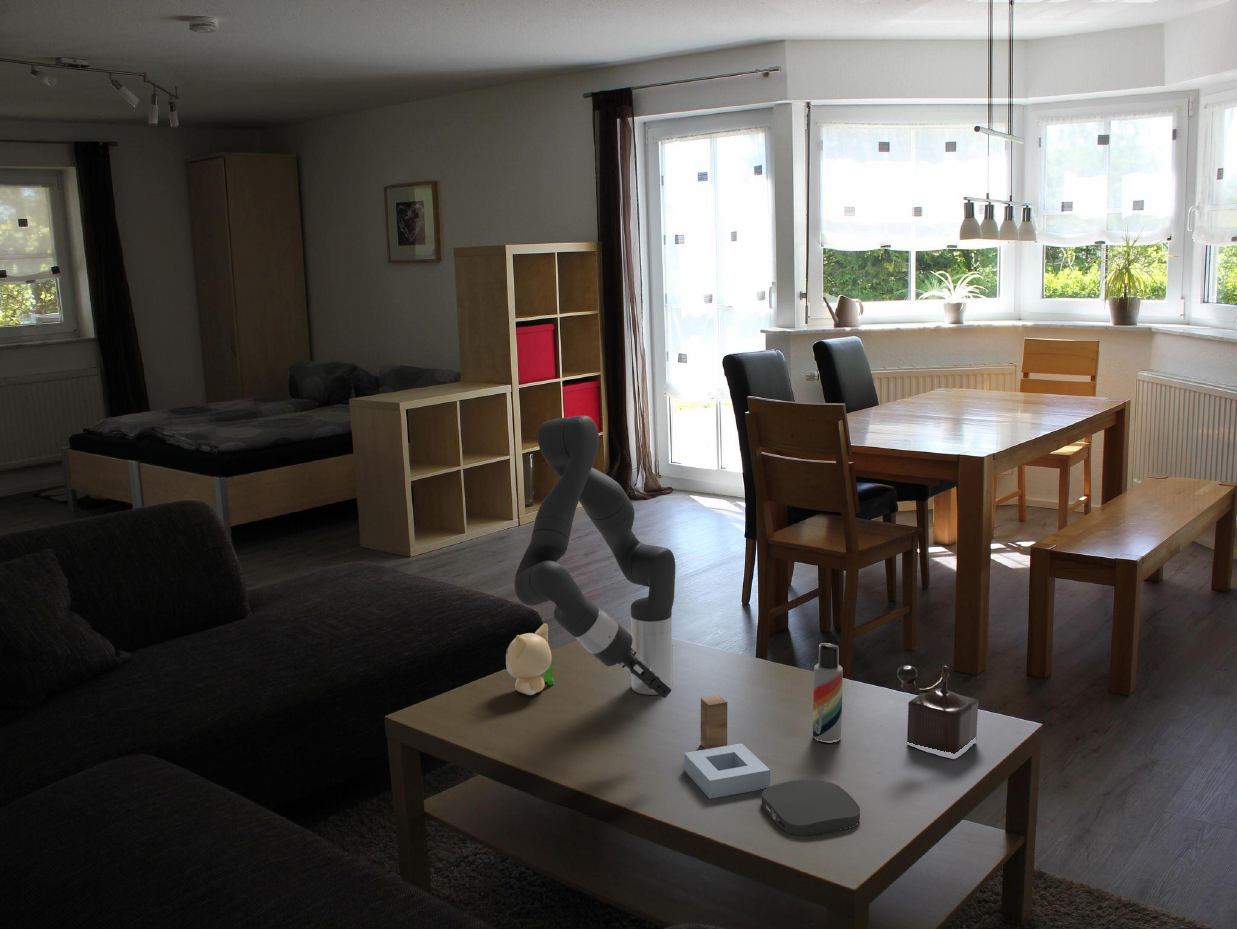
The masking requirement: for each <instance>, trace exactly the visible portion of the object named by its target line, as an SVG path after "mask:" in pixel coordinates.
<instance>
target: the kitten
mask: <svg viewBox="0 0 1237 929" xmlns="http://www.w3.org/2000/svg"><path fill="white" fill-rule="evenodd" d="M548 634H549V625H548V624H547V623H543V624H542V625H541V626H540V627H539V628H538V629H537V630H536V631H535V632H534V633H533V632H528V633H527V632H526V633H523V634H520V635H519V634H516V637H515V638H513V640H512V641H511V642H510V643H509V645H508V647H507V649H506V650H505V666H506V670H507V672H508V674H509V675H510V676H511V677H513V678H516V680H515V684H514V687H515V690H516V691H517V692H519V693H522V694H525V695H527V696H533V695H535V694H537V693H540V692H541V691H543V689H544V688H545V683H547V686H554V684H555V680H554V678H553V671H554V670H553V666H552V659H553V658H552V651H551V647H550V644H549V636H548ZM542 674H543V676H542Z"/></svg>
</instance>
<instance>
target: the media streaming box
mask: <svg viewBox="0 0 1237 929" xmlns="http://www.w3.org/2000/svg"><path fill="white" fill-rule="evenodd" d="M761 807H762V809H763V810H764V811H765V812H766V813H767V815H768V816H769V817H770V818H771V820H772V821H774V822H775V824H776V825H777V826H778V827H779V828H780V829H781V830H782V831H784V832H785V833H787V834H791V835H793V836H799V837H806V836H808V835H809V836H814V835H815V834H816V835H820V834H819V833H822V834H826V833H825V832H828V833H832V831H834V832H837V831H836V830H839V831H841V830H840V829H844V830H846V829H845V828H849V827H853V826H855V825H856V824H857V823H858V822H859V820H861V819H860V818H861V809H860V808H861V807H860V806H859V804H858V803H857V802H856V800H855V799H854V798H853V797H852V796H851V795H850V794H849V793H848V792H847V791H846V790H845V789H843V787H841V786H839V785H837V784H836V783H832V782H830V781H827V780H821V779H798V780H797V779H796V780H789V781H785V782H780V783H778V784H773V785H770V787H768V788H766V789H763V791H762V792H761ZM774 822H773V823H774ZM859 823H860V822H859ZM855 827H856V826H855ZM853 828H854V827H853ZM849 829H850V828H849ZM816 835H815V836H816ZM809 836H808V837H809Z"/></svg>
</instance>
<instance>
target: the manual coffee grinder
mask: <svg viewBox="0 0 1237 929" xmlns="http://www.w3.org/2000/svg"><path fill="white" fill-rule="evenodd" d="M941 670H942V672H941V676H940V678H939V679H938V680H937V681H936V682H935V683H934V684H933V685H932V686H927V687H926V688H918V687H917V684H916V682H915V680H916V679H917V678H918V670H917V668H916V667H915V666H912V665H910V664H904V665H902V666H899V667H898V669H897V675H896V676H897V679H899V680H900V681H901V686H900V687H901V689H902V690H904V691H909V692H910V691H911V692H914V693H918V695H917V696H916V697H914V698H912V699H911V700H909V701H908V705H907V706H908V707H907V708H908V710H907V712H908V714H907V732H906V733H907V736H906V738H907V740H906V743H907V742H909V743H913V744H915V745H920V746H924V747H928V748H932V749H937V750H940V751H944V752H945V751H946V752H951V753H953V754H955V753H956V752H958V751H959V750H960V749H962V748H963V747H964V746H965V745H967V744H968V743H969V742H970V741H971V740H973V739H974V738H975V737H976V738H977V733H978V732H977V728H978V717H979V715H978V714H979V700H978V699H975V698H973V697H969V696H966V695H961V694H958V693H955V692H952V691H951V690H948V678H950V673H949V671H950V667H949V665H943V666H942V668H941ZM939 687H941V688H939Z"/></svg>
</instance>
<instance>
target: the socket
mask: <svg viewBox="0 0 1237 929" xmlns="http://www.w3.org/2000/svg"><path fill="white" fill-rule="evenodd" d="M683 757H684V760H683V761H684V766H683V768H684V772H685V773H686V774H687V775H688V777H690V778H691V780H692V781H693V782H694V783H695V784H696V785H697V786H698V787H699V788H700V789H701V791H702V792H703V793H704V794H705V795H706V797H707V798H708V799H710V800H711V799H716V798H721V797H727V796H732V795H739V794H743V793H749V792H754V791H755V792H756V791H759V790H760V789H761V790H765V788H766V789H767V788H768V787H770V786H771V769H770V768H769V767H768V766H767V765H765V763H763V761H762V760H760V759H759V757H757V756H756V755H755V754H754V753H753V752H752V751H751V750H750V749H748V747H746V745H744V744H743V743H737V744H729V745H727V746H723V747H717V748H711V749H699V750H694V751H689V752H688V751H687V752H684V754H683Z"/></svg>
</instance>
